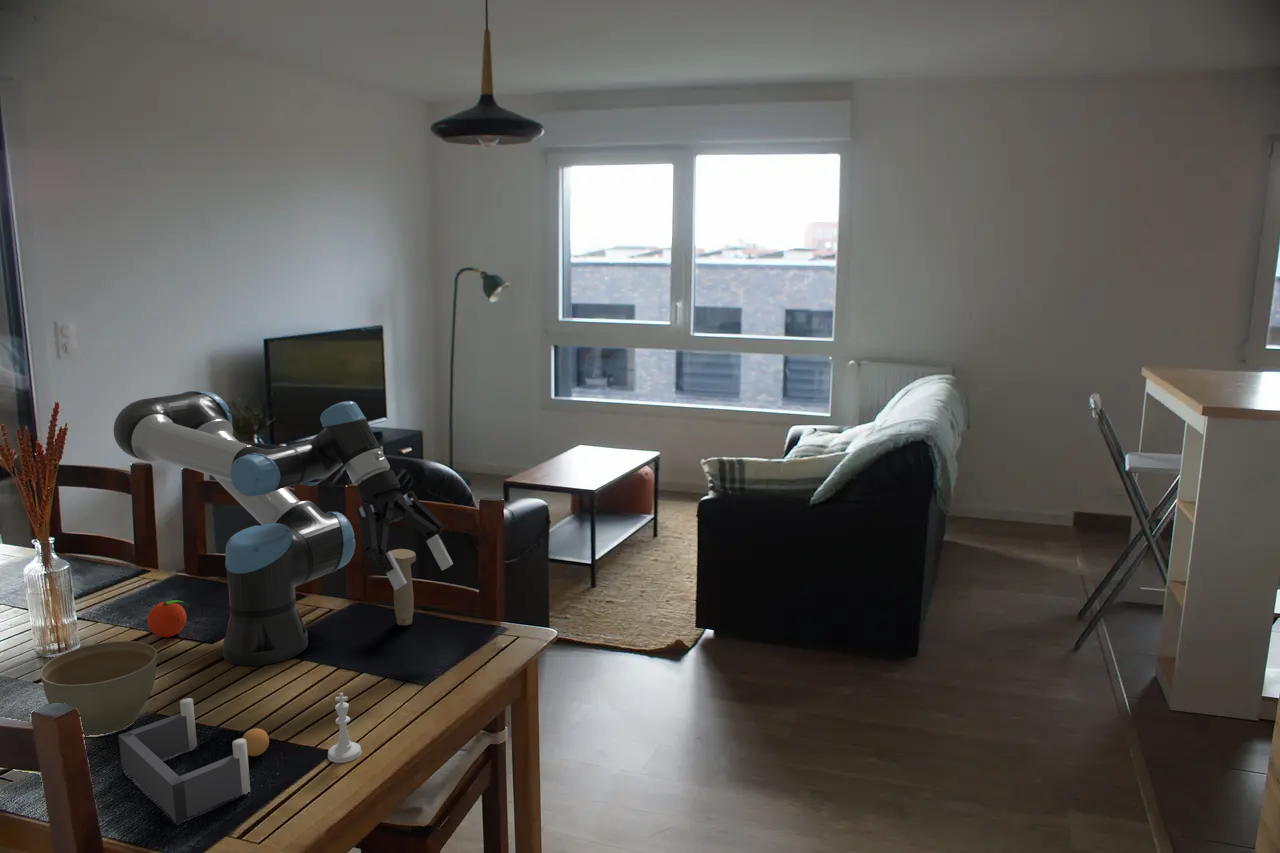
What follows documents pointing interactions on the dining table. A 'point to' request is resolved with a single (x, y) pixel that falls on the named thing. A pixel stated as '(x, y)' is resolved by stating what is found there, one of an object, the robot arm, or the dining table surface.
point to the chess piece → (343, 736)
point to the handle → (404, 587)
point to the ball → (256, 741)
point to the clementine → (167, 618)
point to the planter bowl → (102, 683)
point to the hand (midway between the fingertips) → (425, 576)
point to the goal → (190, 789)
